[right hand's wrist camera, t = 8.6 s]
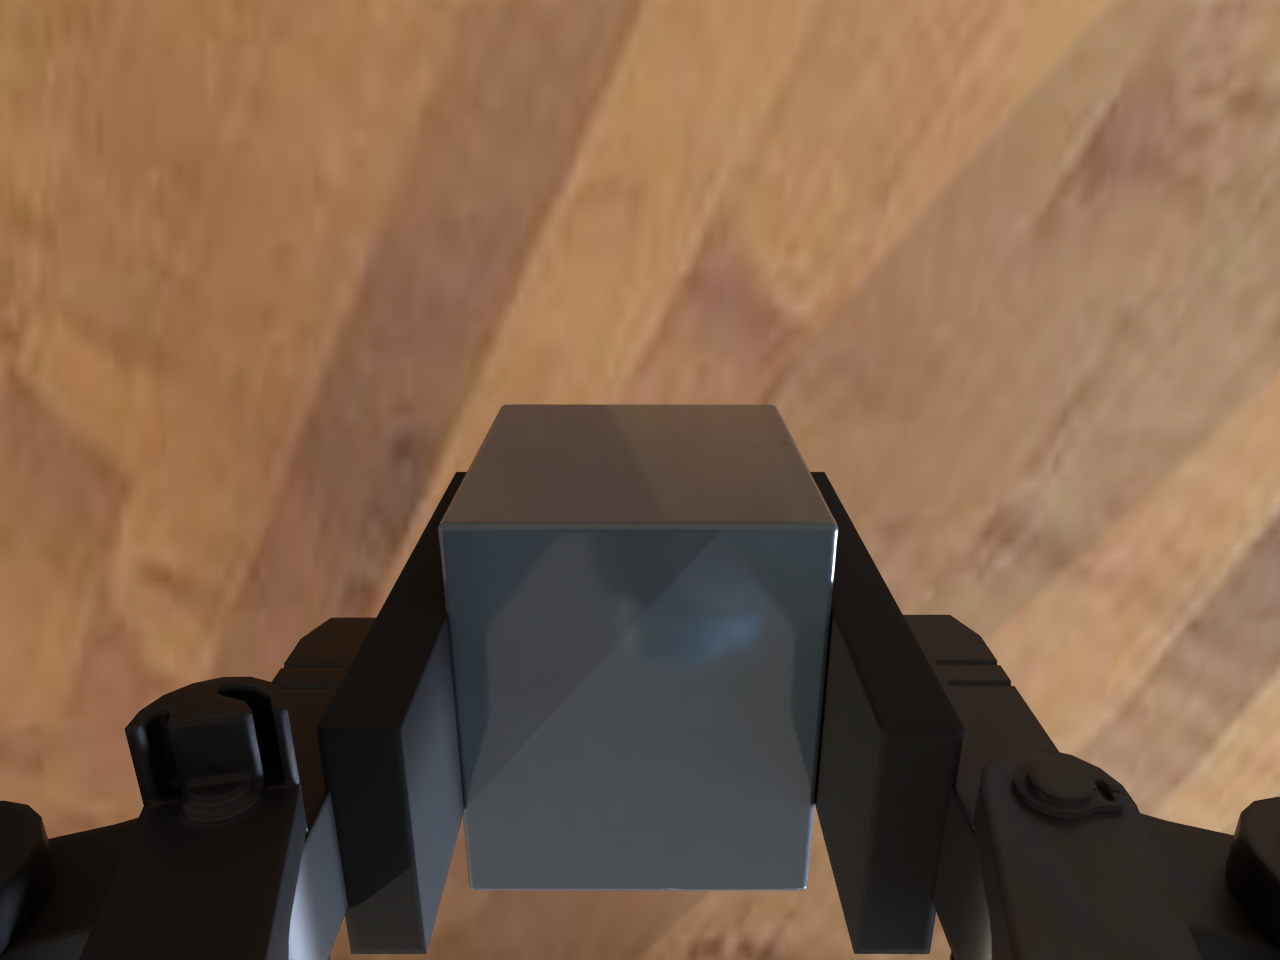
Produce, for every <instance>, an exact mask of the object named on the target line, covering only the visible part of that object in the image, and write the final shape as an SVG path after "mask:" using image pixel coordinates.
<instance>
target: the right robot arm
mask: <svg viewBox="0 0 1280 960" xmlns="http://www.w3.org/2000/svg"><path fill="white" fill-rule="evenodd" d="M466 473H467V472H456V474H455V475H454V477H453V479H452V481H451V483H450V484H449V486H448V488H447V490H446V492H445V494H444V495H443V497H442V499H441V501H440V503H439V505H438V506H437V508H436V510H435V512H434V514H433V516H432V517H431V519H430V521H429V523H428V525H427V526H426V528H425V530H424V532H423V534H422V536H421V537H420V539H419V541H418V543H417V545H416V547H415V548H414V550H413V552H412V554H411V556H410V558H409V559H408V561H407V563H406V565H405V567H404V568H403V570H402V572H401V574H400V576H399V578H398V579H397V581H396V583H395V585H394V587H393V589H392V590H391V592H390V594H389V596H388V598H387V600H386V601H385V603H384V605H383V607H382V609H381V611H380V612H379V614H378V616H377V618H330V619H329V620H327V621H326V622H324V623H323V624H322V625H320V626H319V627H317V628H316V629H314V630H313V631H311V632H310V633H309V634H307V635H306V636H304V637H303V638H301V639H300V641H299V642H298V644H297V645H296V647H295V648H294V650H293V651H292V653H291V654H290V656H289V657H288V659H287V660H286V662H285V663H284V668H281V669H280V671H279V672H278V674H277V675H276V676H275V678H274V679H273V681H272V682H269V681H265V680H261V679H257V678H253V677H221V678H217V679H212V680H207V681H202V682H197V683H193V684H190V685H188V686H185V687H183V688H180V689H178V690H175V691H173V692H170V693H168V694H165V695H163V696H162V697H160V698H159V699H157V700H156V701H154V702H153V703H151V704H150V705H148V706H147V707H145V708H144V709H142V710H140V711H139V712H138V714H137V715H136V716H135V717H134V718H133V720H132V721H131V722H130V723H129V724H128V726H127V727H126V728H125V732H126V736H127V740H128V744H129V748H130V752H131V756H132V760H133V764H134V768H135V772H136V776H137V780H138V784H139V788H140V792H141V796H142V800H143V804H144V807H143V809H142V812H141V814H140V816H139V818H136V819H132V820H129V821H126V822H122V823H119V824H115V825H110V826H106V827H101V828H97V829H92V830H88V831H83V832H78V833H74V834H69V835H65V836H60V837H56V838H51V839H48V838H47V835H46V831H45V828H44V825H43V821H42V818H41V816H40V815H39V814H37V813H36V812H35V811H34V810H33V809H32V808H31V807H30V806H28V805H25V804H19V803H14V802H8V801H0V960H330V956H329V955H330V952H331V950H332V947H333V944H334V942H335V939H336V936H337V934H338V931H339V928H340V926H341V923H342V921H343V918H344V915H345V917H346V924H347V930H348V937H349V943H350V949H351V954H426V953H427V949H428V945H429V942H430V938H431V934H432V930H433V926H434V922H435V919H436V915H437V911H438V907H439V903H440V900H441V896H442V892H443V888H444V884H445V880H446V877H447V873H448V869H449V865H450V861H451V857H452V854H453V850H454V846H455V842H456V838H457V834H458V831H459V827H460V823H461V819H462V815H463V811H464V802H463V790H462V779H461V767H460V756H459V744H458V733H457V721H456V709H455V698H454V686H453V675H452V663H451V652H450V640H449V628H448V617H447V612H446V610H445V601H444V589H443V578H442V566H441V555H440V543H439V531H438V528H439V525H440V522H441V521H442V519H443V517H444V515H445V513H446V511H447V509H448V507H449V505H450V503H451V502H452V500H453V498H454V496H455V494H456V492H457V490H458V488H459V486H460V485H461V483H462V481H463V479H464V477H465V475H466ZM810 473H811V475H812V477H813V479H814V481H815V483H816V485H817V487H818V488H819V490H820V492H821V494H822V496H823V498H824V500H825V502H826V504H827V506H828V508H829V510H830V512H831V514H832V516H833V517H834V519H835V521H836V523H837V526H838V540H837V552H836V563H835V575H834V586H833V598H832V609H831V621H830V632H829V644H828V655H827V667H826V678H825V690H824V702H823V713H822V725H821V736H820V748H819V759H818V771H817V782H816V794H815V805H816V809H817V813H818V817H819V821H820V824H821V828H822V832H823V836H824V840H825V844H826V847H827V851H828V855H829V859H830V863H831V866H832V870H833V874H834V878H835V882H836V886H837V889H838V893H839V897H840V901H841V905H842V909H843V912H844V916H845V920H846V924H847V928H848V932H849V935H850V939H851V943H852V947H853V951H854V954H929V953H930V947H931V941H932V934H933V928H934V922H935V915H936V912H937V914H938V917H939V920H940V922H941V925H942V927H943V930H944V933H945V935H946V938H947V940H948V943H949V946H950V948H951V956H950V960H1280V797H1275V798H1269V799H1264V800H1258V801H1254V802H1253V803H1252V804H1250V805H1249V806H1248V807H1247V808H1246V809H1245V810H1244V811H1242V812H1241V814H1240V818H1239V821H1238V824H1237V827H1236V831H1235V834H1234V835H1229V834H1225V833H1220V832H1215V831H1211V830H1206V829H1202V828H1197V827H1192V826H1188V825H1183V824H1179V823H1174V822H1169V821H1165V820H1162V819H1158V818H1155V817H1151V816H1148V815H1144V814H1141V813H1140V812H1139V810H1138V808H1137V805H1136V804H1135V802H1134V801H1133V800H1132V798H1131V797H1130V795H1129V794H1128V793H1127V791H1126V790H1125V788H1124V787H1123V786H1122V785H1121V784H1120V783H1119V782H1117V781H1116V780H1115V779H1113V778H1112V777H1111V776H1109V775H1108V774H1107V773H1105V772H1104V771H1103V770H1102V769H1100V768H1098V767H1096V766H1094V765H1092V764H1090V763H1087V762H1085V761H1083V760H1081V759H1079V758H1077V757H1074V756H1072V755H1068V754H1064V753H1060V752H1059V751H1058V750H1057V748H1056V747H1055V745H1054V744H1053V742H1052V741H1051V739H1050V738H1049V736H1048V735H1047V733H1046V732H1045V730H1044V729H1043V727H1042V726H1041V725H1040V723H1039V722H1038V720H1037V719H1036V717H1035V716H1034V714H1033V713H1032V711H1031V710H1030V708H1029V707H1028V705H1027V704H1026V702H1025V701H1024V700H1023V698H1022V697H1021V695H1020V694H1019V692H1018V691H1017V689H1016V688H1015V686H1011V680H1010V679H1009V677H1008V676H1007V675H1006V673H1005V672H1004V670H1003V669H1002V667H1001V666H1000V665H997V660H996V658H995V657H994V655H993V654H992V653H991V651H990V650H989V648H988V647H987V645H986V644H985V642H984V641H983V639H982V638H981V636H980V635H978V634H977V633H975V632H974V631H972V630H971V629H969V628H968V627H967V626H965V625H964V624H962V623H961V622H959V621H958V620H956V619H955V618H954V617H952V616H951V615H902V613H901V611H900V609H899V607H898V606H897V604H896V602H895V600H894V598H893V596H892V595H891V593H890V591H889V589H888V587H887V586H886V584H885V582H884V580H883V578H882V576H881V575H880V573H879V571H878V569H877V567H876V565H875V564H874V562H873V560H872V558H871V556H870V555H869V553H868V551H867V549H866V547H865V545H864V544H863V542H862V540H861V538H860V536H859V534H858V533H857V531H856V529H855V527H854V525H853V523H852V522H851V520H850V518H849V516H848V514H847V513H846V511H845V509H844V507H843V505H842V503H841V502H840V500H839V498H838V496H837V494H836V492H835V491H834V489H833V487H832V485H831V483H830V481H829V480H828V478H827V476H826V474H825V472H810Z"/></svg>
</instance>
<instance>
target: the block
mask: <svg viewBox="0 0 1280 960" xmlns="http://www.w3.org/2000/svg"><path fill="white" fill-rule="evenodd" d="M438 531H439V543H440V555H441V566H442V578H443V589H444V601H445V610H446V612H447V617H448V628H449V640H450V652H451V663H452V675H453V686H454V698H455V709H456V721H457V733H458V744H459V756H460V767H461V779H462V790H463V802H464V811H463V821H464V832H465V844H466V856H467V867H468V879H469V885H470V887H471V889H473V890H789V891H801V890H804V889H806V887H807V884H808V874H809V863H810V851H811V840H812V828H813V817H814V805H815V794H816V782H817V771H818V759H819V748H820V736H821V725H822V713H823V702H824V690H825V678H826V667H827V655H828V644H829V632H830V621H831V609H832V598H833V586H834V575H835V563H836V552H837V540H838V526H837V523H836V521H835V519H834V517H833V516H832V514H831V512H830V510H829V508H828V506H827V504H826V502H825V500H824V498H823V496H822V494H821V492H820V490H819V488H818V487H817V485H816V483H815V481H814V479H813V477H812V475H811V473H810V471H809V469H808V467H807V465H806V463H805V461H804V459H803V458H802V456H801V454H800V452H799V450H798V448H797V446H796V444H795V442H794V440H793V438H792V436H791V434H790V432H789V431H788V429H787V427H786V425H785V423H784V421H783V419H782V417H781V415H780V413H779V411H778V409H777V407H776V406H774V405H504V406H502V407H501V409H500V411H499V412H498V414H497V416H496V418H495V420H494V422H493V424H492V426H491V428H490V430H489V431H488V433H487V435H486V437H485V439H484V441H483V443H482V445H481V447H480V448H479V450H478V452H477V454H476V456H475V458H474V460H473V462H472V464H471V466H470V467H469V469H468V471H467V473H466V475H465V477H464V479H463V481H462V483H461V485H460V486H459V488H458V490H457V492H456V494H455V496H454V498H453V500H452V502H451V503H450V505H449V507H448V509H447V511H446V513H445V515H444V517H443V519H442V521H441V522H440V525H439V528H438Z"/></svg>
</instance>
